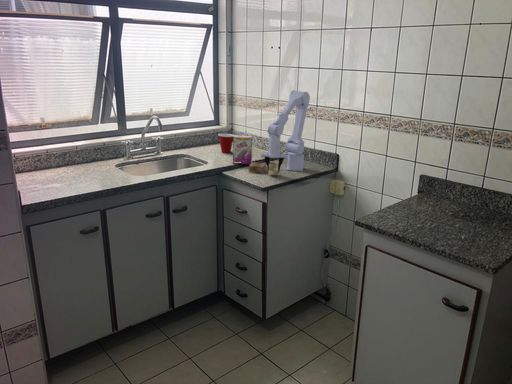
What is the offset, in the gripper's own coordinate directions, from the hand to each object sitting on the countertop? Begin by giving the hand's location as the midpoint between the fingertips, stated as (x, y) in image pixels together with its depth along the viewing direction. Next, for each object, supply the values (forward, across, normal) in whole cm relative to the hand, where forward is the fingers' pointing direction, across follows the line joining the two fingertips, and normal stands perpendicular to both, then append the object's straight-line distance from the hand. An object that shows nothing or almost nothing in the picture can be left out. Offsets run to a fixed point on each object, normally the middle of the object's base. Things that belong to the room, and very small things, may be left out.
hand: (273, 170), depth 227 cm
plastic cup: (+3, -36, +43) cm, 56 cm away
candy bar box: (+3, -21, +20) cm, 29 cm away
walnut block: (+3, -10, +7) cm, 13 cm away
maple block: (+2, 0, 0) cm, 2 cm away
